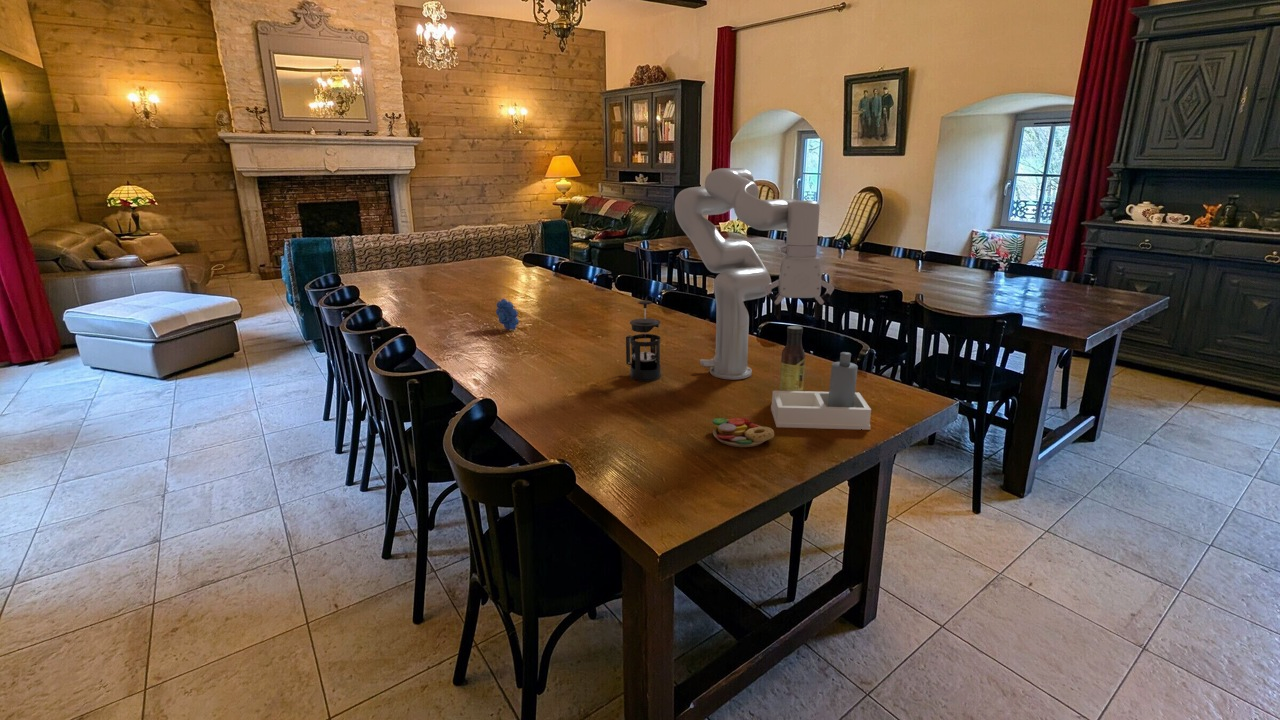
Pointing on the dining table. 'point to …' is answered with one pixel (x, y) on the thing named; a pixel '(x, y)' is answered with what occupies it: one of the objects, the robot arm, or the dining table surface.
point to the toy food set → (740, 432)
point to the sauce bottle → (792, 361)
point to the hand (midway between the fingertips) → (797, 318)
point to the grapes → (507, 314)
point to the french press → (645, 363)
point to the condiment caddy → (825, 403)
